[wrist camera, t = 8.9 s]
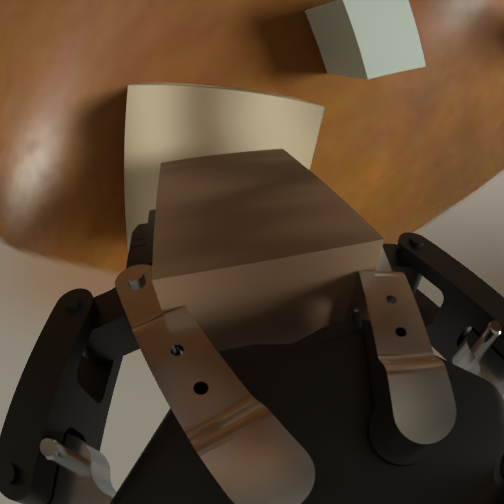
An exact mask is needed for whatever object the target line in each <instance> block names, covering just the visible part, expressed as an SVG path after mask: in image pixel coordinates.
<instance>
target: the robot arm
mask: <svg viewBox="0 0 504 504" xmlns="http://www.w3.org/2000/svg"><path fill="white" fill-rule="evenodd" d="M155 213H156V209H154V210H149V216H148V223H144V224H139V225H138V226H137V227H136V228H135V229H134V231H133V232H132V236H131V242H130V248H129V253H128V260H127V266H126V269H125V270H124V271H122V272H121V273H120V274H119V275H118V277H117V278H116V281H115V286H116V287H115V288H114V289H112V290H110V291H108V292H106V293H103V294H101V295H99V296H96V297H94V298H93V296H92V294H91V292H89V291H88V290H86V289H74V290H71V291H69V292H67V293H66V294H64V295H63V296H62V297H61V298H60V299H59V300H58V302H57V303H56V305H55V307H54V309H53V311H52V313H51V314H50V316H49V318H48V320H47V322H46V324H45V326H44V328H43V330H42V332H41V334H40V336H39V338H38V340H37V342H36V344H35V346H34V348H33V351H32V352H31V355H30V357H29V359H28V361H27V364H26V366H25V368H24V371H23V373H22V375H21V378H20V381H19V383H18V385H17V388H16V391H15V393H14V396H13V399H12V401H11V404H10V407H9V410H8V413H7V416H6V419H5V422H4V425H3V428H2V432H1V435H0V492H1V493H2V494H3V495H4V496H5V497H7V498H8V499H11V500H13V501H16V502H19V503H22V504H504V399H503V397H502V396H503V394H504V297H502V296H501V295H500V294H499V293H497V292H496V291H495V290H494V289H493V288H492V287H490V286H489V285H488V284H487V283H485V282H484V281H483V280H482V279H480V278H479V277H478V276H477V275H475V274H474V273H473V272H472V271H470V270H469V269H468V268H466V267H465V266H464V265H462V264H461V263H460V262H458V261H457V260H456V259H454V258H453V257H451V256H450V255H448V254H447V253H446V252H445V251H443V250H441V249H440V248H439V247H438V246H436V245H435V244H433V243H432V242H430V241H429V240H427V239H426V238H424V237H423V236H421V235H418V234H415V233H403V234H401V235H400V237H399V240H398V244H383V246H382V250H381V253H380V257H379V260H378V264H377V267H376V271H358V274H357V278H356V281H355V285H354V289H353V292H352V296H351V299H350V303H349V306H348V310H347V313H346V316H345V319H344V321H343V322H340V323H336V324H333V325H329V326H326V327H322V328H321V329H319V330H317V331H315V332H313V333H311V334H310V335H308V336H306V337H304V338H302V339H300V340H298V341H296V342H294V343H291V344H256V345H247V346H242V347H238V348H233V349H227V350H222V351H217V350H216V349H215V347H214V346H213V345H212V343H211V342H210V340H209V339H208V338H207V336H206V335H205V334H204V332H203V331H202V329H201V328H200V327H199V325H198V324H197V322H196V321H195V319H194V318H193V317H192V315H191V314H190V312H189V311H188V309H187V308H186V307H185V306H183V307H179V308H176V309H173V310H170V311H167V312H165V313H163V312H162V310H161V307H160V304H159V301H158V298H157V295H156V292H155V288H154V285H153V282H152V261H153V241H154V226H155ZM422 276H424V277H425V278H426V279H428V280H429V281H430V282H431V283H432V284H434V285H435V286H436V287H437V288H439V289H440V290H441V291H442V293H443V296H444V301H443V304H442V306H441V307H438V306H437V305H436V304H435V303H434V302H433V301H431V300H430V299H429V298H428V297H426V296H425V295H424V294H423V293H422V292H420V291H419V290H418V289H417V287H418V285H419V283H420V280H421V278H422ZM431 346H432V347H433V348H435V349H436V350H437V351H438V352H439V353H440V354H441V355H442V356H443V357H444V358H445V359H446V360H447V361H446V360H444V359H442V358H439V357H437V356H435V355H434V353H433V350H432V347H431ZM138 349H141V351H142V353H143V356H144V358H145V360H146V362H147V364H148V366H149V368H150V370H151V372H152V374H153V376H154V378H155V380H156V382H157V384H158V386H159V388H160V389H161V391H162V393H163V395H164V397H165V399H166V401H167V402H168V404H169V406H170V410H169V411H168V413H167V415H166V416H165V418H164V419H163V421H162V422H161V424H160V425H159V427H158V429H157V430H156V432H155V433H154V435H153V437H152V438H151V440H150V441H149V443H148V444H147V446H146V448H145V449H144V451H143V452H142V454H141V456H140V457H139V459H138V460H137V462H136V463H135V465H134V467H133V468H132V470H131V471H130V473H129V474H128V476H127V477H126V479H125V480H124V482H123V484H122V485H121V487H120V488H119V490H118V491H117V493H116V491H115V490H114V488H113V486H112V484H111V480H110V466H109V463H108V461H107V459H106V458H105V456H104V455H103V454H102V453H101V452H100V447H101V442H102V437H103V433H104V428H105V423H106V419H107V415H108V411H109V406H110V402H111V398H112V395H113V391H114V387H115V383H116V380H117V376H118V372H119V369H120V365H121V362H122V358H123V356H124V355H126V354H128V353H131V352H133V351H135V350H138Z"/></svg>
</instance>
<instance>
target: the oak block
mask: <svg viewBox="0 0 504 504" xmlns="http://www.w3.org/2000/svg"><path fill="white" fill-rule="evenodd" d="M323 112H324V106H321V105H318V104H314V103H311V102H308V101H304V100H301V99H298V98H294V97H290V96H285V95H279V94H274V93H268V92H262V91H255V90H248V89H241V88H233V87H224V86H215V85H203V84H189V83H166V82H139V83H135V84H131V85H128V92H127V104H126V119H125V144H124V193H125V218H126V234H127V247H128V253H129V248H130V242H131V236H132V232H133V231H134V229H135V228H136V227H137V226H138V225H139V224H144V223H148V216H149V210H154V209H156V201H157V191H158V181H159V173H160V164H161V163H163V162H169V161H175V160H181V159H188V158H195V157H202V156H210V155H218V154H227V153H236V152H246V151H257V150H270V149H284V150H285V151H286V152H288V153H289V154H290V155H291V156H292V157H294V158H295V159H296V160H297V161H299V162H300V163H301V164H302V165H303V166H305V167H306V168H307V169H308V170H310V166H311V162H312V158H313V154H314V150H315V146H316V142H317V137H318V133H319V129H320V125H321V120H322V116H323Z"/></svg>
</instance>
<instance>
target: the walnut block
mask: <svg viewBox="0 0 504 504" xmlns="http://www.w3.org/2000/svg"><path fill="white" fill-rule="evenodd" d="M383 242H384V238H383V237H382V236H381V235H380V234H379V233H378V232H377V231H376V230H375V229H374V228H373V227H372V226H370V225H369V224H368V223H367V222H366V221H365V220H364V219H363V218H362V217H361V216H360V215H359V214H358V213H357V212H356V211H355V210H354V209H353V208H351V207H350V206H349V205H348V204H347V203H346V202H345V201H344V200H343V199H342V198H340V197H339V196H338V195H337V194H336V193H335V192H334V191H333V190H332V189H330V188H329V187H328V186H327V185H326V184H325V183H324V182H322V181H321V180H320V179H319V178H318V177H317V176H315V175H314V174H313V173H312V172H311V171H309V170H308V169H307V168H306V167H305V166H303V165H302V164H301V163H300V162H299V161H297V160H296V159H295V158H294V157H292V156H291V155H290V154H289V153H288V152H286V151H285V150H284V149H270V150H257V151H246V152H236V153H227V154H218V155H210V156H202V157H195V158H188V159H181V160H175V161H169V162H163V163H161V164H160V173H159V181H158V191H157V201H156V213H155V226H154V241H153V261H152V282H153V285H154V288H155V292H156V295H157V298H158V301H159V304H160V307H161V310H162V312H163V313H165V312H167V311H170V310H173V309H176V308H179V307H183V306H185V307H186V308H187V309H188V311H189V312H190V314H191V315H192V317H193V318H194V319H195V321H196V322H197V324H198V325H199V327H200V328H201V329H202V331H203V332H204V334H205V335H206V336H207V338H208V339H209V340H210V342H211V343H212V345H213V346H214V347H215V349H216V350H217V351H222V350H227V349H233V348H238V347H242V346H247V345H256V344H291V343H294V342H296V341H298V340H300V339H302V338H304V337H306V336H308V335H310V334H311V333H313V332H315V331H317V330H319V329H321V328H322V327H326V326H329V325H333V324H336V323H340V322H343V321H344V319H345V316H346V313H347V310H348V306H349V303H350V299H351V296H352V292H353V289H354V285H355V281H356V278H357V274H358V271H376V267H377V264H378V260H379V257H380V253H381V250H382V246H383Z"/></svg>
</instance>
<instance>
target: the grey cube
mask: <svg viewBox="0 0 504 504" xmlns="http://www.w3.org/2000/svg"><path fill="white" fill-rule="evenodd" d="M304 11H305V13H306V16H307V18H308V21H309V23H310V26H311V28H312V31H313V34H314V36H315V39H316V42H317V45H318V47H319V50H320V53H321V56H322V59H323V62H324V65H325V68H326V71H327V74H336V75H343V76H350V77H357V78H363V79H371V78H375V77H379V76H383V75H388V74H392V73H396V72H401V71H406V70H410V69H415V68H421V67H426V66H425V61H424V56H423V51H422V47H421V43H420V39H419V35H418V31H417V27H416V24H415V20H414V17H413V13H412V10H411V7H410V4H409V1H408V0H336V1H332V2H329V3H326V4H322V5H319V6H316V7H313V8H310V9H307V10H304Z"/></svg>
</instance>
